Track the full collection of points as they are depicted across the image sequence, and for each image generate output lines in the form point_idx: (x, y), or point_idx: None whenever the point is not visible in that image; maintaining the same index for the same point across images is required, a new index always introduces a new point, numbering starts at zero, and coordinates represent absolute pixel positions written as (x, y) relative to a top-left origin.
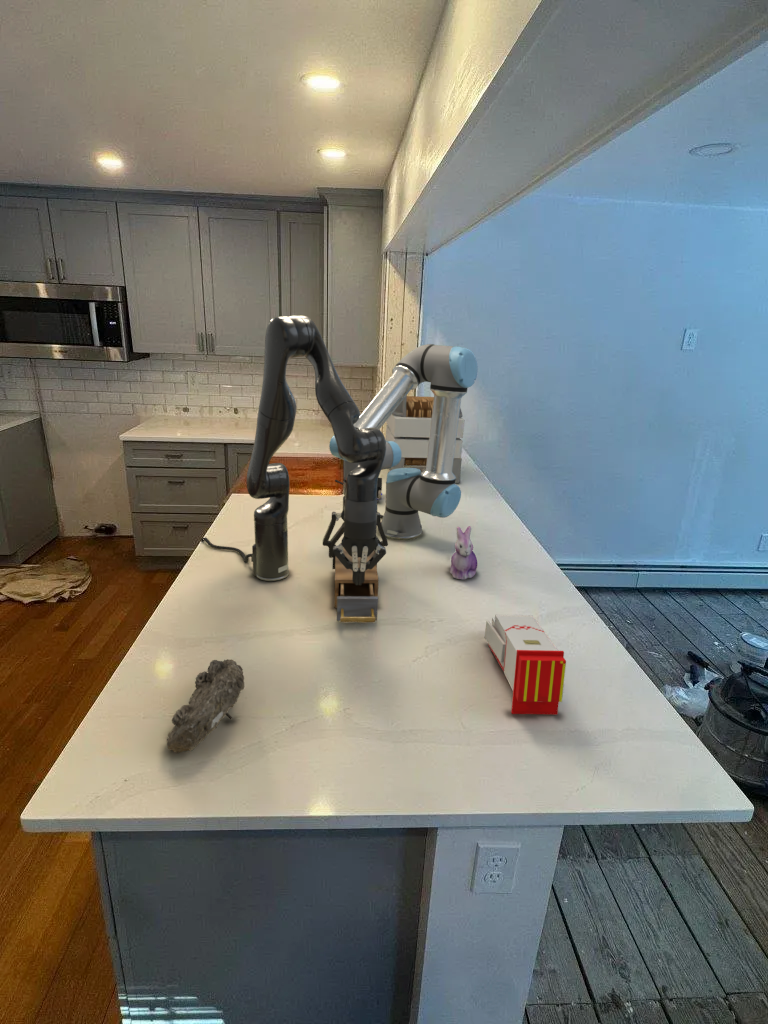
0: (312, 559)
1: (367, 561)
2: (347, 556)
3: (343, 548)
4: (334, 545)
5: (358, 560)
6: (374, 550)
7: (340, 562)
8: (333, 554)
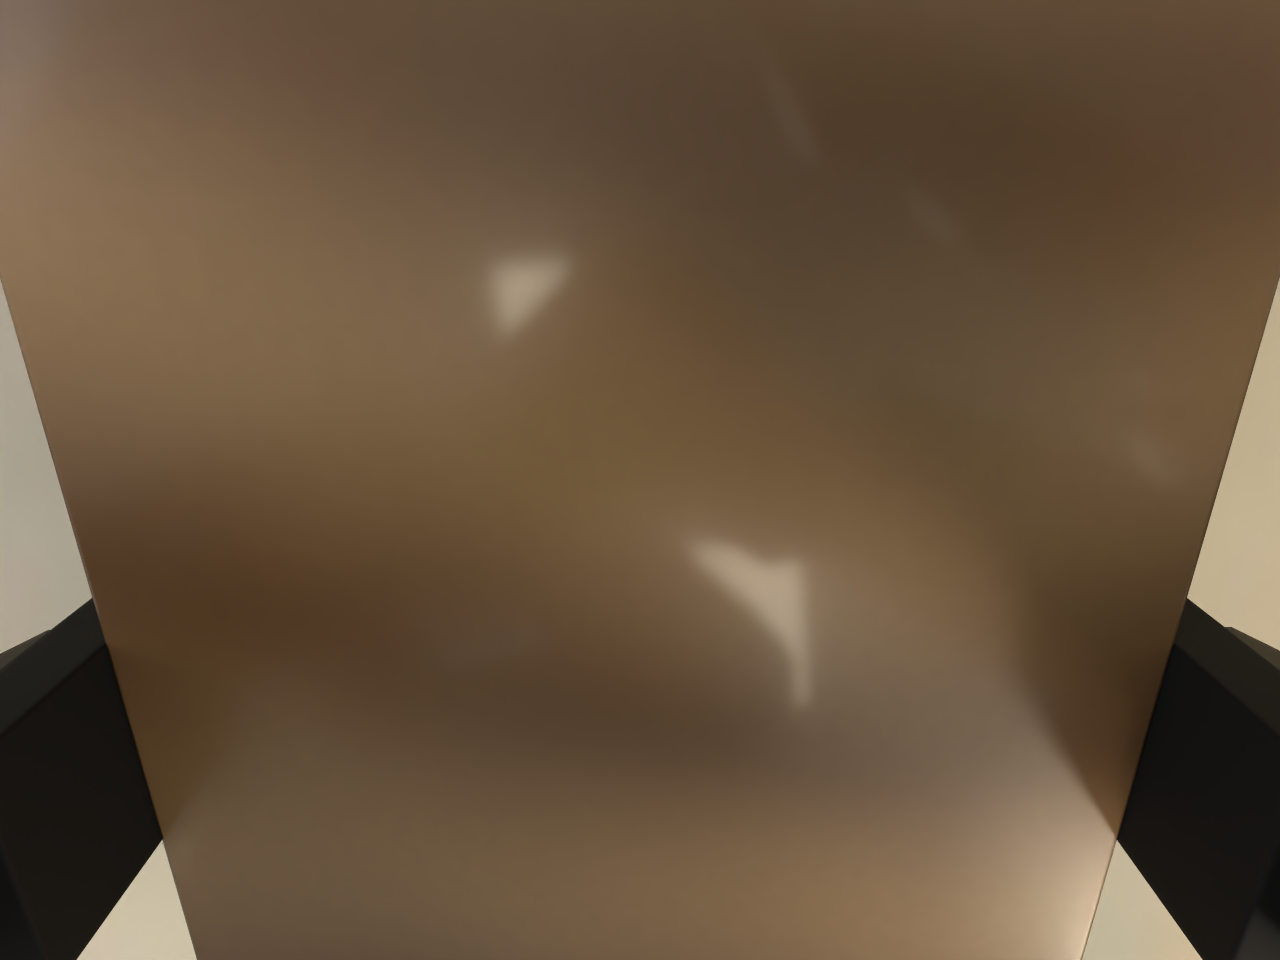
0: (1112, 926)
1: (242, 158)
2: (865, 517)
3: (907, 928)
4: (1270, 948)
5: (545, 239)
6: (123, 819)
7: (1171, 46)
8: (1221, 642)
